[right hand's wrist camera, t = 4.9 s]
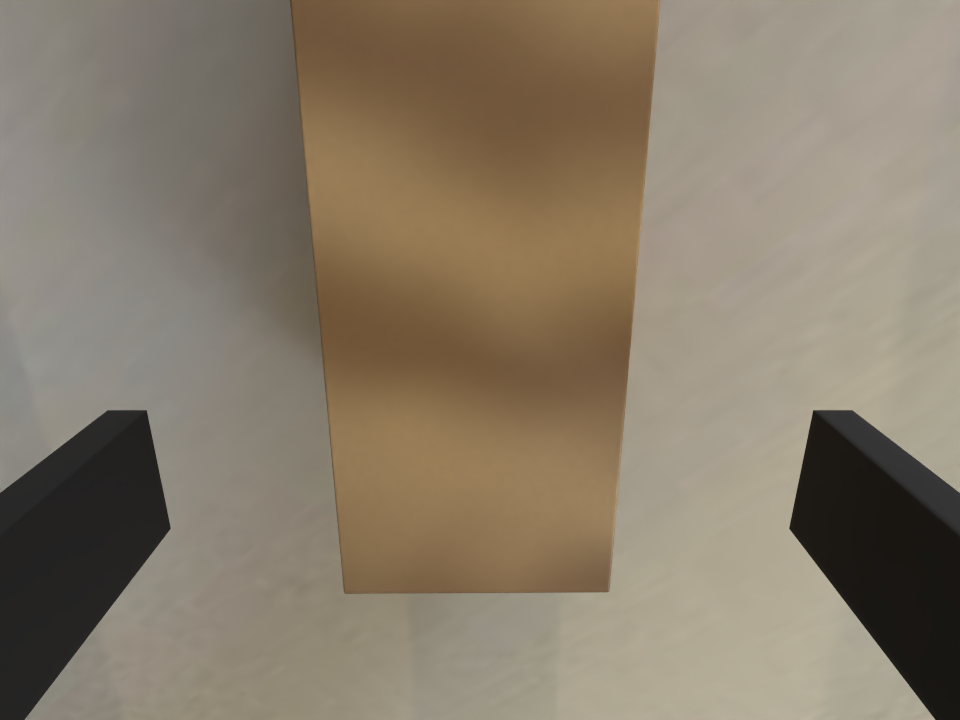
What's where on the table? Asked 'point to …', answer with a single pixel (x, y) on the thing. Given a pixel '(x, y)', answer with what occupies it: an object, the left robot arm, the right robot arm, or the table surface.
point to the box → (475, 280)
